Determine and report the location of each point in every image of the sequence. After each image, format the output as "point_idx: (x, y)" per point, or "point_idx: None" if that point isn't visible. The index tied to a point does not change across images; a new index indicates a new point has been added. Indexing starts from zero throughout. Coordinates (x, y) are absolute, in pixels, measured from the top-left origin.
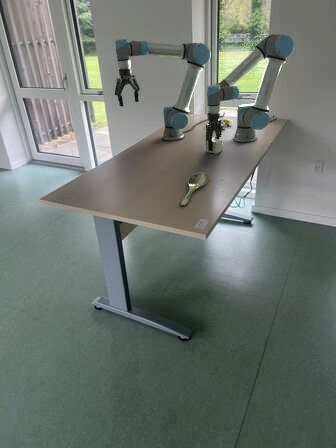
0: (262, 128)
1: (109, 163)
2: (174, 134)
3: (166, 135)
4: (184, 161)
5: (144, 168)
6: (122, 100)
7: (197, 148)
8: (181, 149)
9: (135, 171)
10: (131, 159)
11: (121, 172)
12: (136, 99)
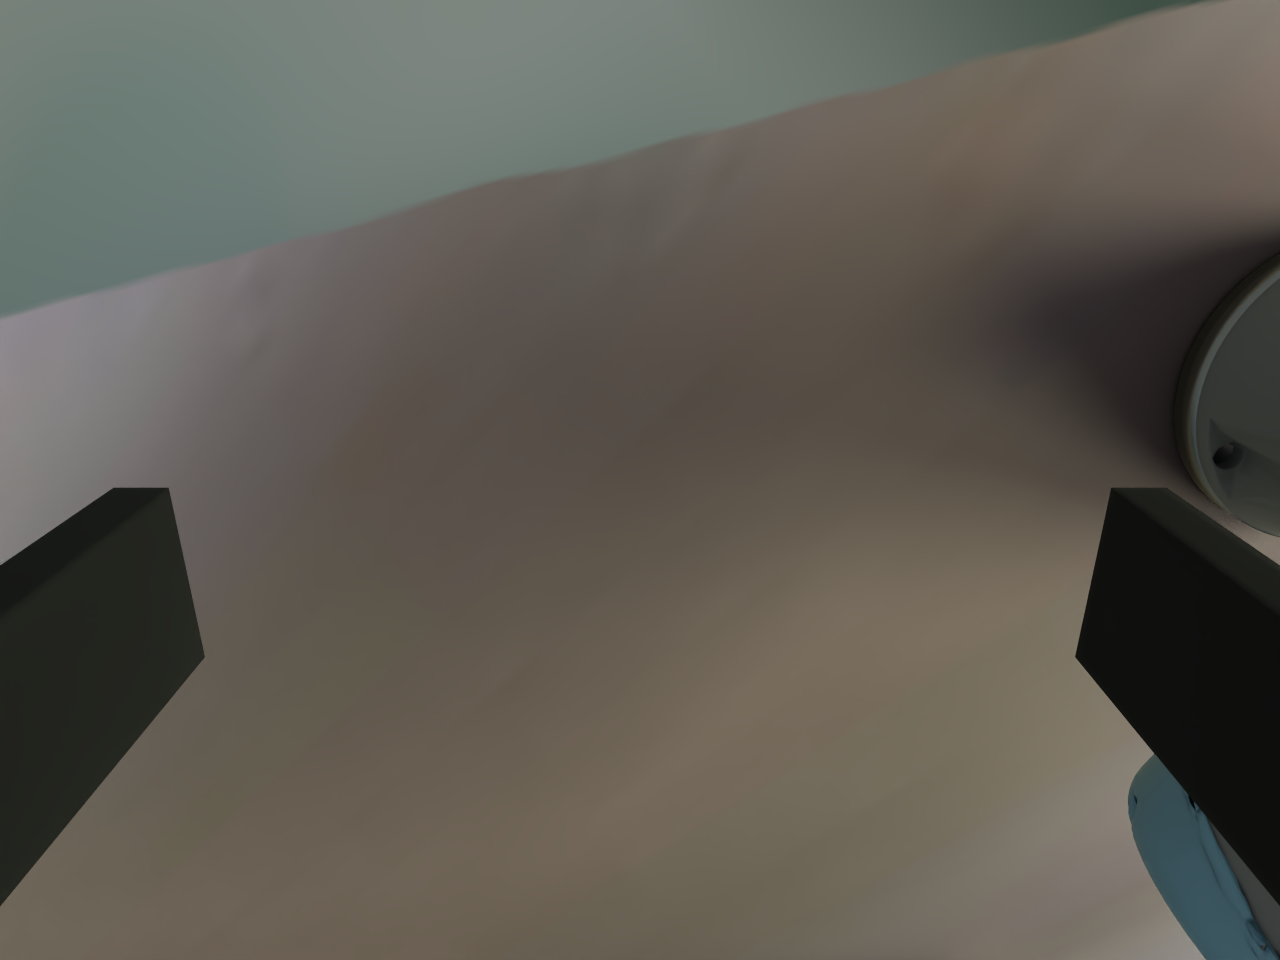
0: None
1: (87, 335)
2: (1272, 515)
3: (1234, 398)
4: (643, 945)
5: (285, 772)
6: (42, 837)
7: (1018, 857)
8: (924, 746)
9: (175, 752)
10: (362, 480)
11: None
12: (1146, 648)
